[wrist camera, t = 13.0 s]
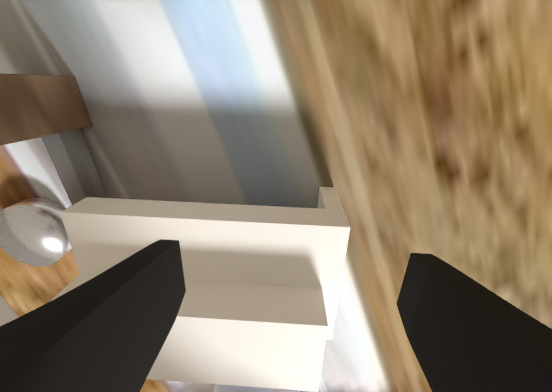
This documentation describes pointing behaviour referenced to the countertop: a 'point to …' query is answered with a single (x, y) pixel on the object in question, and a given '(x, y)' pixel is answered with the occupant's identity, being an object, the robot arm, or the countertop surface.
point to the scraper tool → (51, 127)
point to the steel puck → (34, 231)
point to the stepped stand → (230, 282)
